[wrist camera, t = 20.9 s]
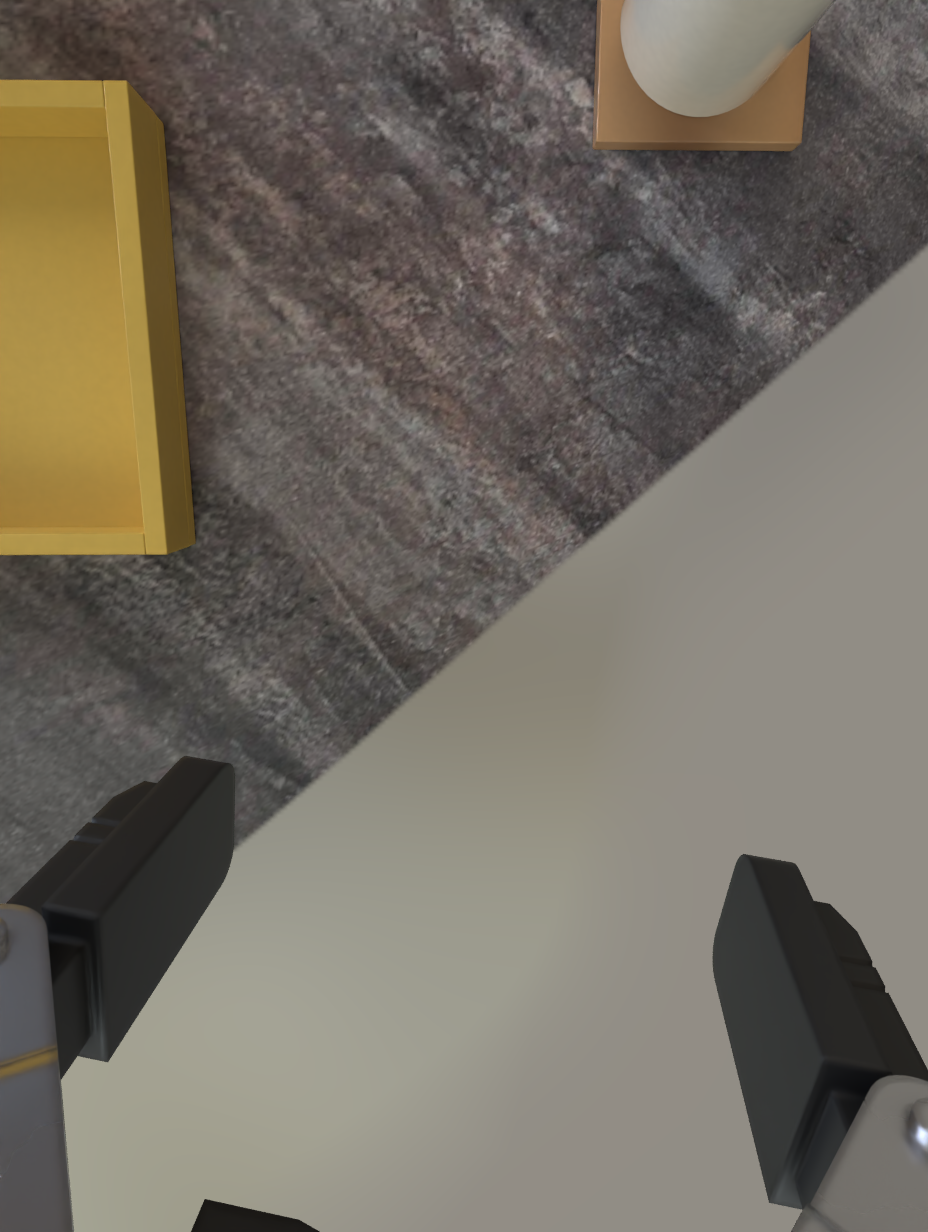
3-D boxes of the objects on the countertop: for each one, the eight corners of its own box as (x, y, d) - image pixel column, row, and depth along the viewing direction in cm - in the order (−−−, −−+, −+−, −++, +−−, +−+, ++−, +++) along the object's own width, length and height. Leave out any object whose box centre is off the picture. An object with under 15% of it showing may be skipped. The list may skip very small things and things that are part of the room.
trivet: (812, -85, 27) (822, -101, 26) (792, 151, 28) (802, 143, 28) (599, -88, 27) (604, -104, 26) (592, 150, 28) (596, 141, 27)
